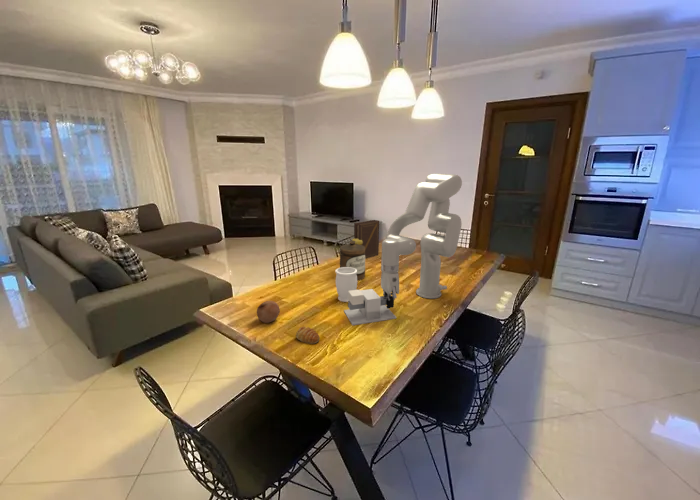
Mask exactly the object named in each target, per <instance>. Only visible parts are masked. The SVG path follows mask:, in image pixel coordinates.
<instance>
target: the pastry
mask: <svg viewBox="0 0 700 500" xmlns="http://www.w3.org/2000/svg"><path fill="white" fill-rule="evenodd" d="M295 337H296V338H297V340H298V341H300V342H302V343H306V344H310V345H311V344H312V345H313V344H314V345H315V344H317V343H318V342H319V341H320V337H321V336H320V335H319V334H318V332H316V330H315V329H313V328H311V327H309V326H307V327H306V326H301V327H299V329H298V330H297V331H296V334H295Z"/></svg>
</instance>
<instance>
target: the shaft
mask: <svg viewBox="0 0 700 500" xmlns="http://www.w3.org/2000/svg"><path fill="white" fill-rule="evenodd" d="M390 296H392V295H390ZM379 297H380V298H381V306H382V305H386V306H387V300H388V295H387V296H383V295H381V296H379ZM347 308H348V309H350V310H355V309H361V308H365V301H364V304H357V305H352V304H351V302H350V301H348V302H347Z"/></svg>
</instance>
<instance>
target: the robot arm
mask: <svg viewBox="0 0 700 500" xmlns="http://www.w3.org/2000/svg"><path fill="white" fill-rule="evenodd" d="M462 185H463V181H462V178H461V176H460V175H458V174H455V173H430V174H428V175H427V176H426V178H425V181H423V182H419V183H417V185H416V186H415V188H414V190H413V193H412V195H411V196H410V197H411V198H410V200H409V202H408V205H407V207H406V210H405V212H404V213H402V214H401V215H400V216H398V217H397V218H396V219H395V220H394V221H393V222H392V224H391V225H390V227H389V229H388V230H387V233H386V237H385V239H384V240H382V241H381V258H380V259H381V265H380V271H381V275H380V286H381V289H382V291H383V292H382V294H383V295H382V296H387V295H388V300H387V305H386V306H387V308H388V309H392V308H394V307H395V299H397V295H399V293H400V276H399V275H400V274H399V270H400V268H399V265H400V256H407V255H411V254H413V253H414V252H415V251H416V248H417V244H416V241H415V240H414V239H413V238H411V237H408V236H404V235H400V234H401V232H402V231H403V229H404V228H406V227H407V226H409V225H412V224H414V223H417V222H420V221H422V220H423V219H425V215H426V212H427V211H428V207H429V206H430V211H429V215H428V219H427V228H428V229H429V230H430V231H434V232H437V233H444V234H445V235H442V234H436V233H433V232H432V233H430V232H428V233H425V234H424V235H422V236H421V238H420V243H419V245H420V252H421V254H420V255H421V261H420V272H419V273H420V275H419V276H420V277H419V287H418V288H417V289H416V290H415V293H416V294H417V295H418V296H419V297H421V298H424V299H431V300H432V299H437V298H438V299H439V298H440V297H441V296H442V290H443V291H444V290H448V286H447V285H442V284H440V278H441V277H440V276H441V274H440V273H441V264H442V262H441V261H442V260H441V257H445V258H451V257H453V256H454V255H455V253H456V251H457V248H458V243H459V239H460V236H461V231H462V230H461V229H462V224H463V223H462V219H461V217H460V215H458V214H456V213H450V211H449V210H450V207H451V202H450V201H451V200H450V198H451V197H453V196H454V195H457V194H458V192H459V191H461V188H462ZM430 204H431V205H430ZM390 295H391V296H390Z"/></svg>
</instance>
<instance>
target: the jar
mask: <svg viewBox="0 0 700 500" xmlns="http://www.w3.org/2000/svg"><path fill="white" fill-rule="evenodd" d="M356 273H357V269H355V268H352V267H342V268H340V267H338V268H336V269H335V274H336V276H335V287H336V292H337V294H338V296H337V299H338V300H339V301H340V302H343V303H348V301H349V300H348V291H351V290H357V287H358V281H357V275H356Z"/></svg>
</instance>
